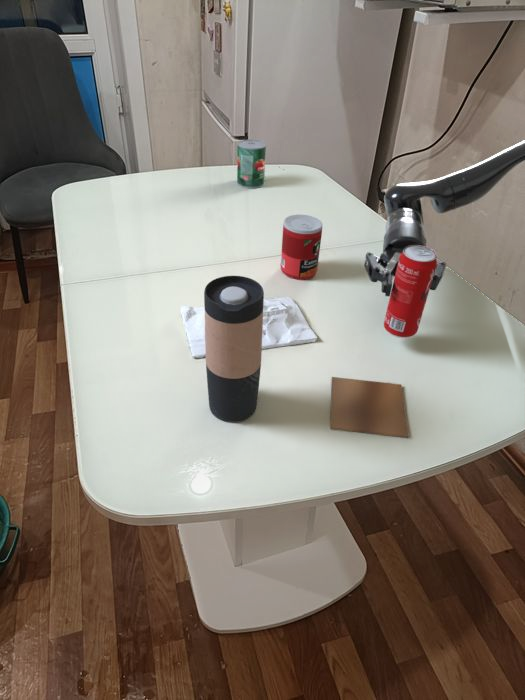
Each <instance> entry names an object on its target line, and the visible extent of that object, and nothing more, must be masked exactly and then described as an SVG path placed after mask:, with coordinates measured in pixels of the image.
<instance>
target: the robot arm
mask: <svg viewBox="0 0 525 700" xmlns="http://www.w3.org/2000/svg"><path fill="white" fill-rule="evenodd" d="M523 162H525V139H523V140H520V141H519V142H517V143H514V144H513V145H511V146H508V147H507V148H506V149H503V150H501V151H499V152H498V153H496V154H493V155H492V156H490V157H487V158H486V159H484V160H482V161H479V162H478V163H476V164H474V165H471V166H469V167H467V168H463V169H461V170H458V171H456V172H455V171H454V172H453V173H450V174H447V175H445V176H441V177H439V178H435V179H430V180H423V181H411V182H400V183H397V184H394V185H392V186H391V187H389V188H388V189H387V191H386V192H385V194H384V196H383V201H384V207H385V211H386V216H387V220H386V223H385V231H384V232H385V233H384V235H383V241H382V243H383V245H382V253H381V254H380V255H375V253H373V252H371V251H368V252H366V254H365V257H364V258H365V259H364V263H363V267H364V269H365V271H366V273H367V275H368V277H369V280H370V282H372V283H377V282H380V284H381V289H380V291H381V293H383V294H384V297H389V298H390V295H391V291H392V286H393V281H394V278H395V274H396V269H397V265H398V261H399V257H400V255H401V254H402V252H403V250H404V248H405V247H407V246H410V245H422V246H426V247H427V239H426V234H425V231H424V227H425V219H424V213H423V205H422V202H421V199H423V198H428V200H429V203H430V204H431V207H432V209H433V210H434V211H435V212H436V213H437V214H445V213H446V214H447V213H448V212H451V211H454V210H457V209H460V208H463V207H466V206H468V205H472V204H473V203H475V202H478V201H479V200H480V199H482V198H484V197H485V196H486V195H488V194H489V193H490V192H491V190H493V189H494V187H496V186H497V185H498V184H499V183H500V181H501V180H502V179H503V178H504V177H506V175H507V174H509V173H510V172H511V171H512V170H513V169H515V168H516V167H517V166H518V165H519V164H521V163H523ZM381 267H382V268H383V269H381ZM446 267H447V263H446V262H445V261H438V263H437V266H436V269H435V273H434V276H433V280H432V283H431V286H430V290H431V291H436V290H437V288H438V286H439V284H440V283H441V281H442V279H443V277H444V273H445V270H446ZM430 290H428V291H429V292H430ZM428 291H427V292H426V295H425V298H424V299H426V298H427V299H428V297H427V294H428V295H429V293H428ZM424 293H425V291H423V293H422V295H421V299H420V301H422V300H423V296H424Z"/></svg>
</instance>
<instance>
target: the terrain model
mask: <svg viewBox="0 0 525 700" xmlns="http://www.w3.org/2000/svg"><path fill="white" fill-rule="evenodd" d="M179 309H180V315H181V317H182V323H183V326H184V329H185V334H186V338H187V341H188V345H189V349H190V353H191V355H192V358H193V359H201V358H206V350H205V306H199V307H193V306H191V305H181V306H180V308H179ZM317 339H318V335H317V334H316V333H315V332H314V331H313V330H312V329H311V327H310V325H309V324H308V321H307V320H306V318H305V316H304V315H303V312H302V311H301V309H300V307H299V304H297V303H296V302H295V301H294V299H293V298H292V297H291V296H287V297H286V296H284V297H277V298H271V299H270V298H269V299H264V303H263V328H262V350H267V349H273V348H279V347H288V346H289V347H290V346H294V345H302V344H310V343H315V342H317Z"/></svg>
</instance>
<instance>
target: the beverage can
mask: <svg viewBox="0 0 525 700" xmlns="http://www.w3.org/2000/svg"><path fill="white" fill-rule="evenodd" d="M437 257H438V255H437V252H436V251H435V250H434V249H432V248H430V247H428V246H427V245H426V246H422V245H410V246H407V247H405V248H404V250H403V252H402V254H401V255H400V257H399V261H398V265H397V269H396V274H395V278H394V279H393V281H392V288H391V293H390V297H389V298H388V303H387V307H386V312H385V316H384V319H383V320H384V321H383V328H384V330H385V331H386V332H387V333H388V334H389V335H391V336H393V337H395V338H399V339H409V338H411V337H413V336H415V335H416V334H417V333H418V331H419V327H420V323H421V320H422V317H423V313H424V310H425V307H426V304H427V300H428V298H429V297H428V296H429V293H430V286H431V283H432V280H433V276H434V273H435V269H436V266H437V264H438V259H437ZM428 290H429V291H428ZM423 291H425V293H424V296H423V300H422V301H420V299H421V295H422V293H423ZM427 291H428V294H427V298H426V299H424V298H425V295H426V292H427Z"/></svg>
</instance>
